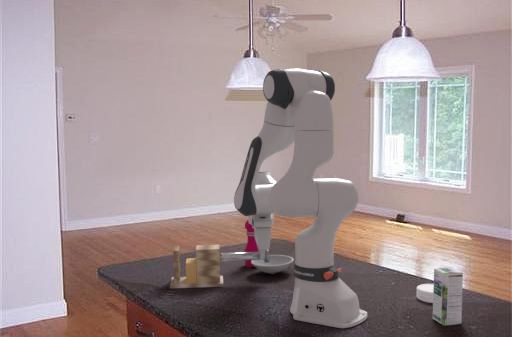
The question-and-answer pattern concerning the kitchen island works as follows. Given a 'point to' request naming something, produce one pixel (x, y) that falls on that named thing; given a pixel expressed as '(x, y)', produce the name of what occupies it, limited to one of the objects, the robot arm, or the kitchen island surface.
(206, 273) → the bracket
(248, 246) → the pepper mill
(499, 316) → the kitchen island surface
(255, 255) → the shaft
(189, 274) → the block
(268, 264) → the dish
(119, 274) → the kitchen island surface
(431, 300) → the white round disc
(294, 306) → the robot arm
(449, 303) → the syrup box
